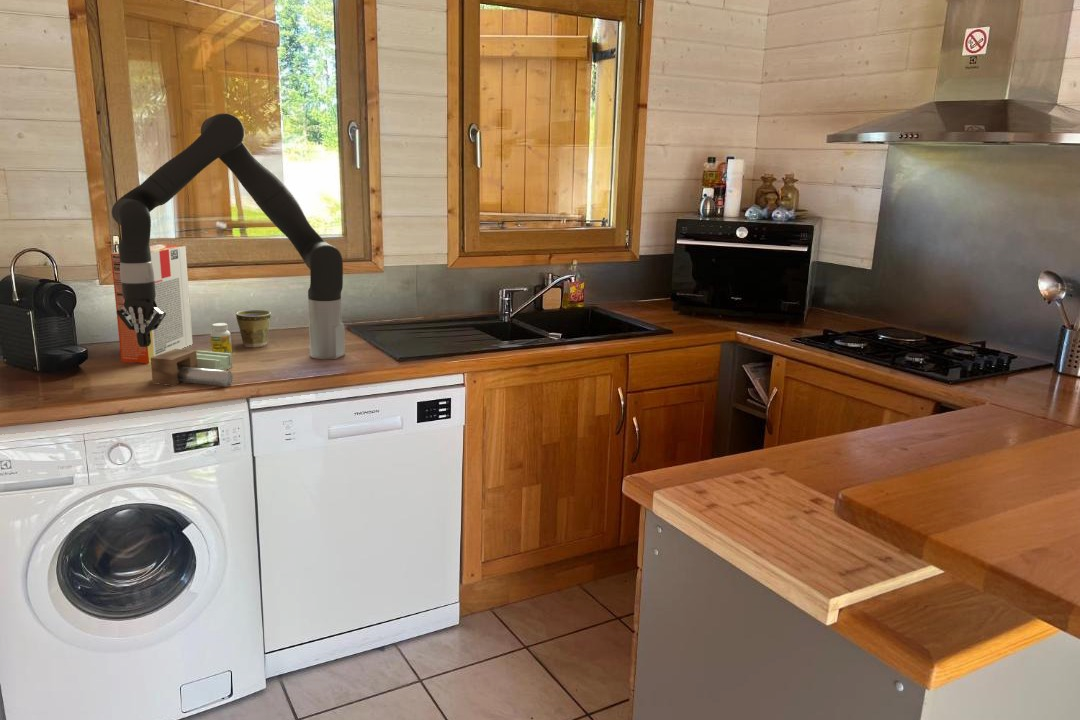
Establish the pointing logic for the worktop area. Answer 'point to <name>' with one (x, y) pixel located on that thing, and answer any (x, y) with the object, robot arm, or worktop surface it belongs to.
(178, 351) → the brown arch block
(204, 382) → the axle
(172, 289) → the pasta box
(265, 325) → the ceramic cup
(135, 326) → the robot arm
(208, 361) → the light green ridged block
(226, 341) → the supplement bottle
